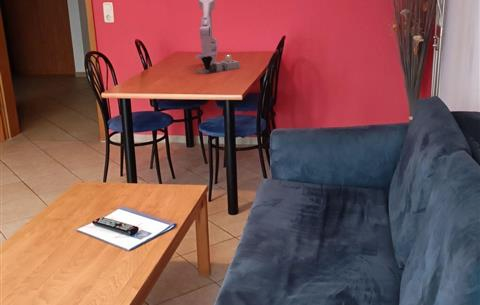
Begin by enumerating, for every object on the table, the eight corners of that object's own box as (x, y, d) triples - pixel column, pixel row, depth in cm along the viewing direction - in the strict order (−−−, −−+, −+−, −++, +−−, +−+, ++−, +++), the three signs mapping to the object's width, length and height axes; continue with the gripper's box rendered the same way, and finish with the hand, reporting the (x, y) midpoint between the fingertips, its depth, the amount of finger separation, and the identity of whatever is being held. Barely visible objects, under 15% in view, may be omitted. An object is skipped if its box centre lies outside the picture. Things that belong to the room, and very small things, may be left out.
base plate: (191, 72, 350) (191, 70, 350) (226, 66, 365) (226, 64, 365) (206, 76, 338) (206, 74, 338) (241, 69, 353) (241, 68, 352)
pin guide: (212, 69, 350) (211, 62, 349) (217, 69, 352) (217, 62, 351) (217, 71, 346) (216, 64, 344) (222, 70, 348) (222, 63, 347)
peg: (229, 67, 357) (228, 54, 354) (233, 67, 354) (232, 54, 351) (224, 68, 354) (223, 55, 352) (228, 68, 351) (227, 55, 349)
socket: (219, 68, 355) (218, 61, 354) (230, 66, 360) (230, 59, 359) (227, 70, 348) (227, 63, 347) (239, 68, 353) (239, 61, 352)
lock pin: (208, 70, 347) (208, 65, 346) (223, 68, 353) (223, 62, 352) (211, 71, 345) (210, 65, 344) (226, 69, 351) (225, 63, 350)
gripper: (199, 48, 333) (200, 72, 337) (220, 45, 341) (220, 68, 346) (193, 47, 338) (194, 70, 343) (213, 44, 346) (214, 67, 351)
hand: (207, 69), depth 344 cm, fingers closed
